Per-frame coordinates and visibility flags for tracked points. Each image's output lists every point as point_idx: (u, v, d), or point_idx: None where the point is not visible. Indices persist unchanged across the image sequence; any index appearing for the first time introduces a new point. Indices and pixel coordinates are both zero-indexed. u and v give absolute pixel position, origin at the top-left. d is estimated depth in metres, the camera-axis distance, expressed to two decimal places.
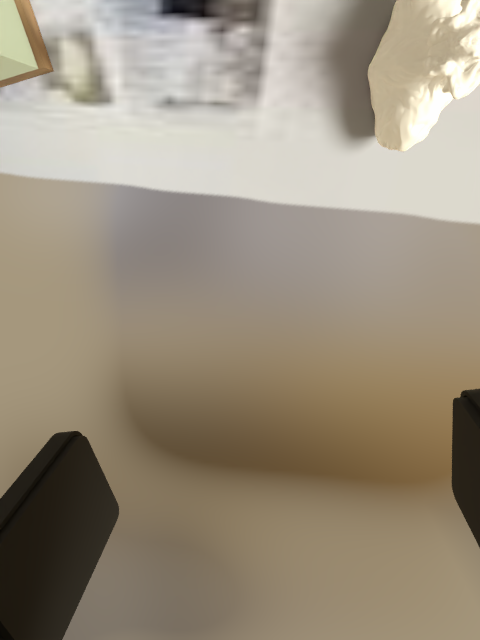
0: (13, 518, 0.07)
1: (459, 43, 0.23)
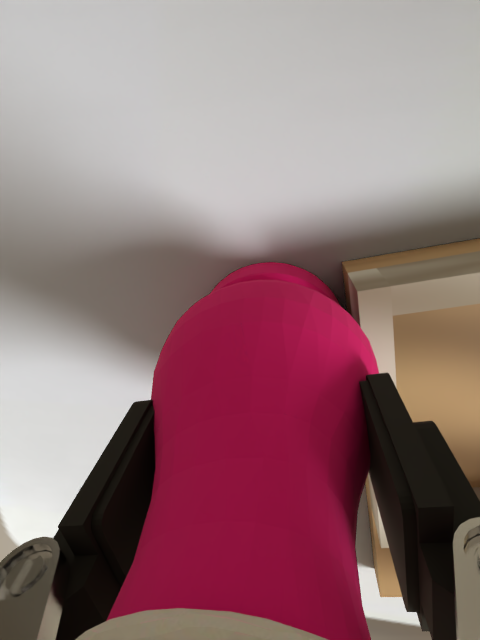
0: (118, 471, 0.08)
1: None
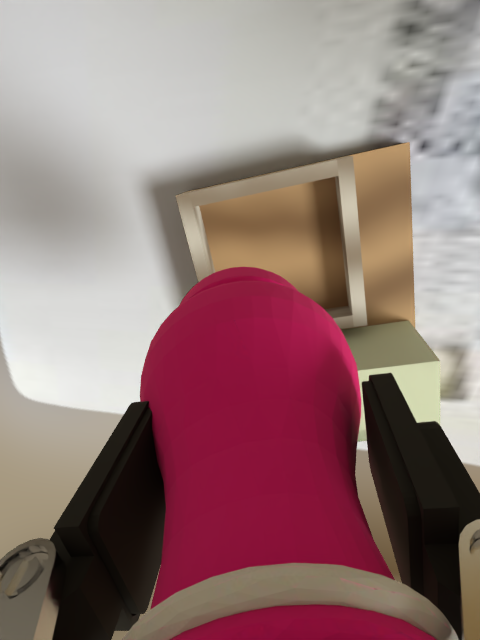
0: (115, 472, 0.08)
1: None
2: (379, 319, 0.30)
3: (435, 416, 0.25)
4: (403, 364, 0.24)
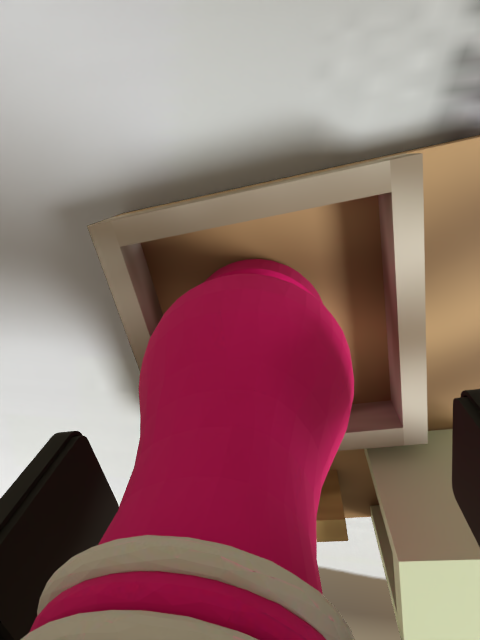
0: (13, 518, 0.07)
1: None
2: (442, 422, 0.18)
3: None
4: None
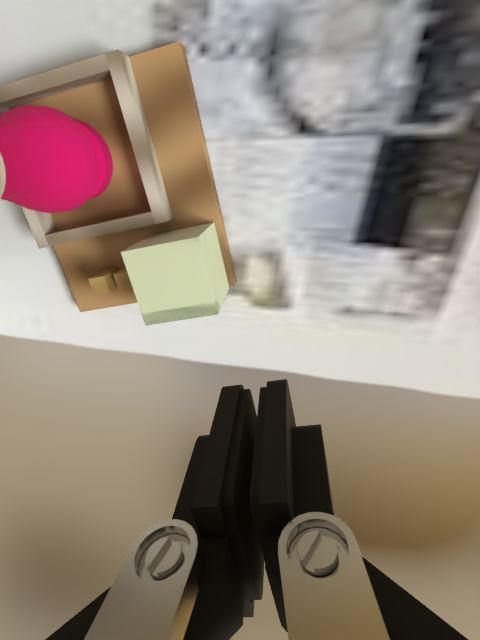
0: (232, 454, 0.08)
1: None
2: (189, 222, 0.32)
3: (209, 295, 0.27)
4: (170, 242, 0.26)
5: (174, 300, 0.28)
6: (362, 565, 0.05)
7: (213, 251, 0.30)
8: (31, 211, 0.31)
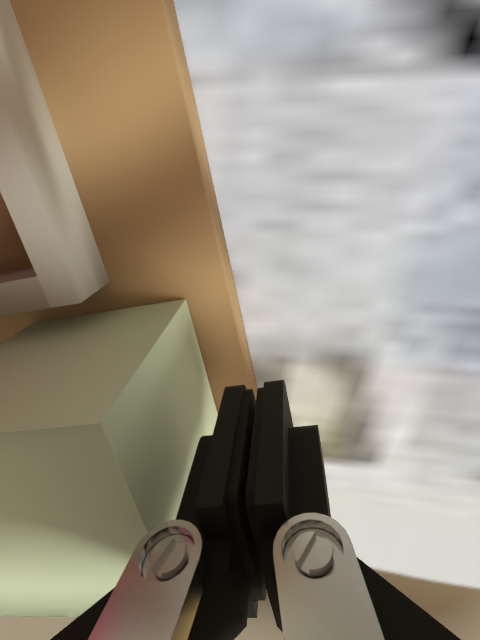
0: (235, 454, 0.08)
1: None
2: (150, 292, 0.13)
3: None
4: (6, 429, 0.07)
5: (48, 577, 0.09)
6: (357, 565, 0.05)
7: (178, 395, 0.11)
8: None
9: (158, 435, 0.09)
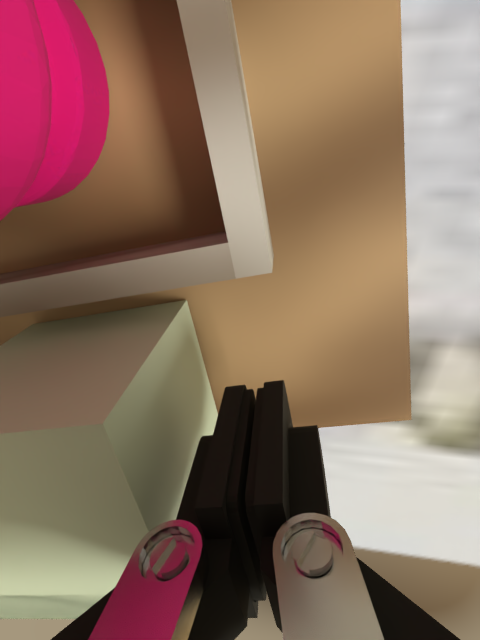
0: (236, 454, 0.08)
1: None
2: (317, 266, 0.12)
3: None
4: (7, 430, 0.07)
5: (49, 579, 0.09)
6: (356, 565, 0.05)
7: (179, 396, 0.11)
8: None
9: (159, 436, 0.09)
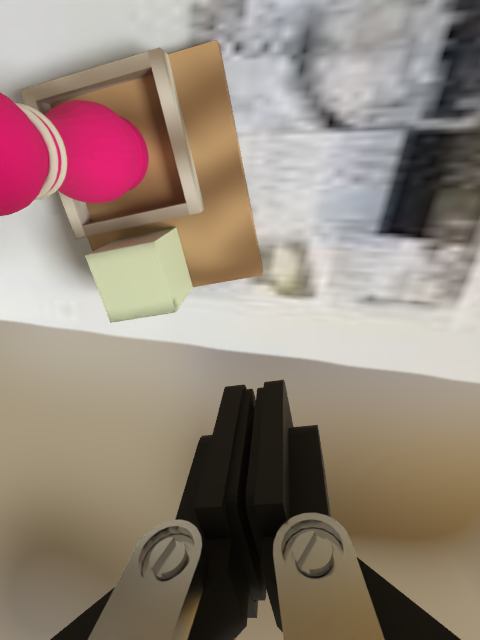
0: (236, 454, 0.08)
1: None
2: (220, 213, 0.33)
3: (166, 294, 0.30)
4: (129, 247, 0.29)
5: (135, 300, 0.30)
6: (357, 565, 0.05)
7: (173, 254, 0.32)
8: (70, 202, 0.32)
9: (167, 258, 0.31)
